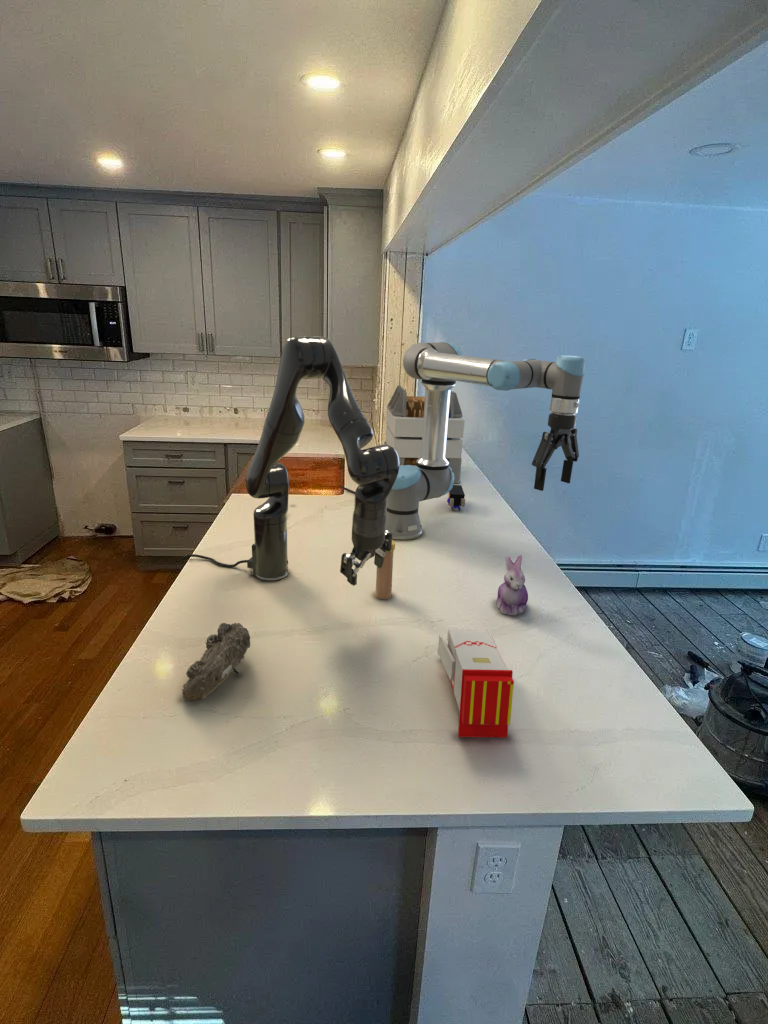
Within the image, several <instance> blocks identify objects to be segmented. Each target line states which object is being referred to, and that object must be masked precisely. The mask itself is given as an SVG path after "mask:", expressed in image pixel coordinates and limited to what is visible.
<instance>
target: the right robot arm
mask: <svg viewBox="0 0 768 1024" xmlns="http://www.w3.org/2000/svg"><path fill="white" fill-rule="evenodd" d="M585 365H586V360H585V358H584V357H582V356H578V355H566V354H565V355H564V354H563V355H558V356H557V357H556V360H555V361H549V360H541V359H536V358H524V359H521V360H506V359H505V360H504V359H503V360H502V359H496V358H487V357H479V356H471V355H464V354H463V352H462V350H461V349H460V347H459V346H457V345H456V344H455V343H451V342H445V341H443V342H442V341H441V342H440V341H439V342H438V341H437V342H417V343H414V344H412V345H411V346H409V347H408V348H407V350H406V351H405V353H404V355H403V358H402V366H403V369H404V372H405V373H406V374H407V375H408V376H409V377H411V378H412V379H415V380H421V385H422V386H423V387H424V389H425V392H424V397H425V404H424V419H423V434H422V449H421V457H420V458H418V459H417V461H416V466H413V465H401V466H400V468H399V473H398V476H397V479H396V481H395V483H394V485H393V487H392V490H391V492H390V494H389V496H388V500H387V510H386V514H387V522H386V530H387V531H389V532H390V533H392V540H394V541H410V540H415V539H418V538H420V537H421V536H422V535H423V525H422V524H421V518H420V515H419V507H420V506H419V505H420V502H423V501H427V500H431V499H437V498H440V497H443V496H446V495H448V493H449V491H450V490H451V489H452V487H453V485H455V483H454V473H452V469H451V467H450V466H449V462H448V461H447V459H446V458H445V453H446V441H447V428H448V416H449V404H450V392H451V391H452V389H453V388H454V387H455V386H456V384H457V382H461V383H465V384H473V385H479V386H487V387H491V388H492V389H494V390H496V391H503V392H504V391H511V390H520V389H532V388H533V389H534V388H539V389H546V390H551V398H550V404H549V413H548V418H547V419H548V420H547V426H548V427H549V428H550V431H549V432H548V431H543V432H542V435H541V440H540V442H539V445H538V447H537V449H536V452H535V454H534V457H533V460H532V461H531V466H533V467H535V475H534V477H535V478H534V485H533V489H534V490H537V491H539V492H543V491H544V489H545V484H546V483H545V482H546V476H547V468H546V466H547V465H548V463H549V461H550V459H551V457H552V456H553V454H554V453H555V451H556V450H557V449H558V448H560V447H561V449H562V452H563V455H564V458H565V459H563V463H562V468H561V469H562V470H561V475H560V482H562V483H566V484H571V478H572V472H573V466H574V463H576V462H578V461H579V457H580V453H579V444H578V428H576V423H577V419H578V416H577V414H578V412H579V411H578V410H579V406H580V397H581V391H582V385H583V380H584V376H585ZM339 488H341V489H343V490H345V491H348V492H350V493H352V494H353V495H355V491H354V490H352V489H350V488H347V487H345V486H343V485H342V484H341V485H339Z"/></svg>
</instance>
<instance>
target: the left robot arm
mask: <svg viewBox="0 0 768 1024" xmlns="http://www.w3.org/2000/svg"><path fill="white" fill-rule="evenodd" d="M277 370H278V371H277V375H276V380H275V381H276V382H275V387H274V391H273V394H272V398H271V401H270V405H269V407H268V410H267V414H266V417H265V420H264V424H263V427H262V432H261V435H260V438H259V441H258V444H257V447H256V450H255V453H254V455H253V456H252V459H251V461H250V464H249V465H248V468H247V471H246V475H245V490H246V491H247V494H248V495H249V496H250V497H251V498H252V499H256V500H257V499H259V500H261V499H267V500H266V501H265V502H263V503H261V504H260V505H258V506H257V507H255V508H254V510H253V537H254V543H252V544H251V557H250V558H249V559H242V560H238V561H236V562H235V563H234V564H228V563H224V562H223V563H222V562H219V561H217V560H216V559H214V558H213V557H209V556H206V555H201V554H197V553H195V554H194V553H192V554H186V555H184V556H183V557H181V560H182V561H185V560H186V559H188V558H199V559H203V560H208V561H211V562H212V563H214V564H216V565H217V566H221V567H225V568H235V567H237V566H238V565H241V564H244V563H246V567H247V569H250V570H251V569H252V576H254V577H256V578H257V579H259V580H261V581H267V582H268V581H269V582H270V581H271V582H274V581H279V580H283V579H284V578H286V577H287V576H288V574H289V559H288V511H289V495H290V478H289V477H290V475H289V472H288V469H287V467H286V466H285V465H284V464H283V463H282V462H279V461H280V460H281V459H283V457H285V455H287V454H288V453H289V452H291V450H292V449H294V447H295V446H296V444H297V443H298V442H299V439H300V437H301V434H302V431H303V428H304V426H305V419H306V418H305V413H304V409H303V408H302V405H301V404H300V403H301V402H300V401H299V399H298V396H297V391H298V390H297V389H298V386H299V383H300V382H301V381H302V380H311V379H312V380H313V379H314V380H315V379H322V380H323V381H324V382H325V383H326V385H327V386H328V389H329V396H328V403H327V417H328V421H329V423H330V426H331V427H332V430H333V431H334V433H335V434H336V436H337V438H338V440H339V442H340V443H341V446H342V451H343V453H344V457H345V462H346V467H347V473H348V475H349V478H350V479H351V480H352V481H353V483H355V484H356V485H358V486H357V487H356V489H355V491H354V492H355V494H354V503H353V513H352V519H351V520H352V522H351V543H352V546H353V547H352V549H351V552H350V553H348V554H347V553H346V552H344V553H342V554H341V559H340V569H339V572H340V574H342V575H343V576H344V577H345V578H346V581H347V582H348V584H350V585H351V586H353V587H355V586H356V585H357V583H358V573H359V571H360V570H361V569H363V568H364V566H365V564H366V562H368V560H370V559H371V558H374V560H373V564H374V565H375V566H376V568H377V567H378V568H381V567H382V565H383V562H384V556H385V555H386V552H387V551H388V552H389V551H391V548H392V540H393V539H392V533H390V532H389V531H387V530H386V522H387V514H386V510H387V500H388V496H389V494H390V492H391V490H392V487H393V485H394V483H395V481H396V479H397V476H398V473H399V468H400V461H399V456H398V454H397V452H396V450H395V449H394V448H393V447H392V446H390V445H386V444H385V445H384V444H379V445H375V446H372V447H367V448H364V447H366V446H368V445H369V443H371V442H372V440H373V438H374V431H373V428H372V426H371V424H370V423H369V421H368V420H367V418H366V416H365V414H364V413H363V411H362V409H361V408H360V407H359V404H358V403H357V401H356V399H355V397H354V395H353V392H352V390H351V387H350V384H349V381H348V379H347V376H346V373H345V371H344V368H343V366H342V363H341V360H340V358H339V355H338V353H337V350H336V349H335V347H334V345H333V343H332V342H331V340H330V339H328V338H327V337H325V336H320V335H295V336H290V337H289V338H288V339H287V340H286V341H285V343H284V345H283V347H282V351H281V355H280V360H279V364H278V369H277ZM356 559H357V560H358V561H360V562H358V561H357V560H356ZM353 566H354V568H353Z"/></svg>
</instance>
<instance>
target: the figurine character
mask: <svg viewBox="0 0 768 1024" xmlns="http://www.w3.org/2000/svg"><path fill="white" fill-rule="evenodd" d="M446 495H447V496H446V497H447V500H446V503H447V504H448V506H449V508H450V509H451V511H454V509H458V511H461V510H462V509H461V508H465V505H466V497H465V496H466V494H465V492H464V488H463V486H462V485H461V484H453V487H452V489H451V490H450V491H449V492H448V493H447V494H446Z"/></svg>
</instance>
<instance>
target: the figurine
mask: <svg viewBox="0 0 768 1024" xmlns="http://www.w3.org/2000/svg"><path fill="white" fill-rule="evenodd" d="M522 562H523V555H522V554H519V555H518V556H517V557H516V559H515V561H513V560H512V558H511V556H509V555H506V556H505V566H506V567H505V569H506V571H505V573H504V576H503V581H504V582H502V584H500V585H499V586H498V589H497V598H496V607H497V608H498V610H500V612H501V614H503V615H508V616H516V615H518V614H523V612H524V611H525V610H526V607H527V603H528V601H529V594H528V590H527V587H526V585H525V583H526V576H525V574H524V571H523V569H522V564H523V563H522Z"/></svg>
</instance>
